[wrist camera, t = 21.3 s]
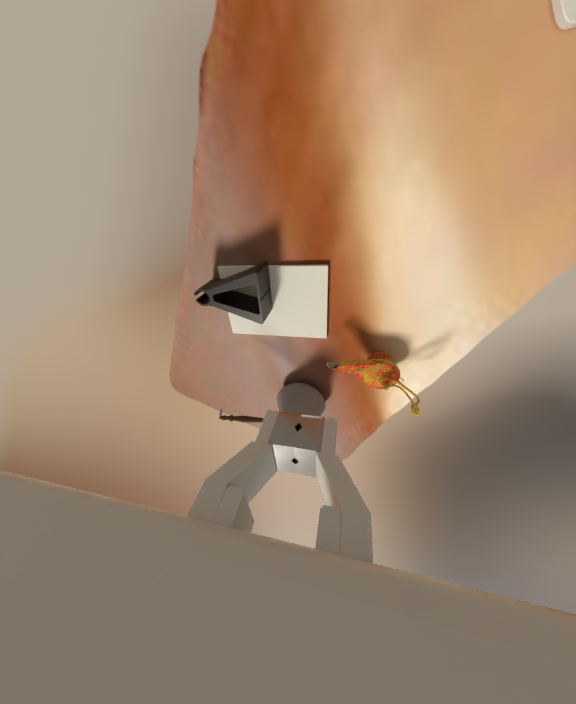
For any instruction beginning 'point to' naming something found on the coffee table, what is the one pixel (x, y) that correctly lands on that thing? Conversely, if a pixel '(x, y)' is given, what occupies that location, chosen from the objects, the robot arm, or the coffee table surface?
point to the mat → (288, 301)
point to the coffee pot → (292, 402)
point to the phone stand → (240, 294)
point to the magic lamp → (375, 373)
